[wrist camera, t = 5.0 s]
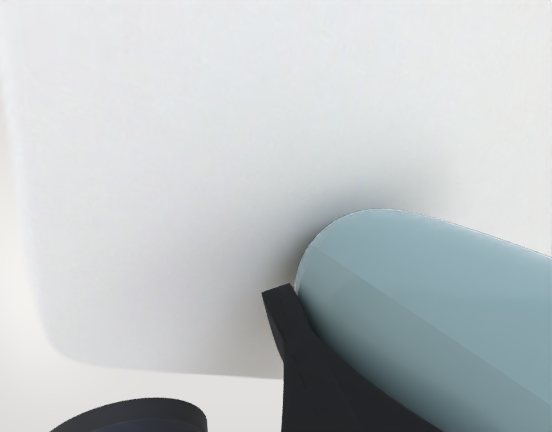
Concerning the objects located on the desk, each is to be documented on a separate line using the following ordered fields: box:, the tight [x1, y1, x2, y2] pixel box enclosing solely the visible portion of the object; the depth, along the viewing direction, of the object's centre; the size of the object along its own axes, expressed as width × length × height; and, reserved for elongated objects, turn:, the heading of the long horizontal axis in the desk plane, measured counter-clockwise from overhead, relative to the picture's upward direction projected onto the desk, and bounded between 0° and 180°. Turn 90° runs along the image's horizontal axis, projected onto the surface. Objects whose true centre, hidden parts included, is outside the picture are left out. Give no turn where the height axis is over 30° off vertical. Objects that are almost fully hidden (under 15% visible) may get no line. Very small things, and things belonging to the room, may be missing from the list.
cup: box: [294, 208, 552, 432], centre depth 10 cm, size 8×8×10 cm
